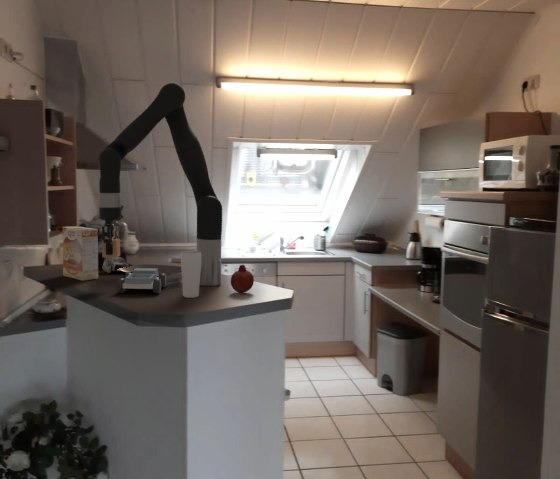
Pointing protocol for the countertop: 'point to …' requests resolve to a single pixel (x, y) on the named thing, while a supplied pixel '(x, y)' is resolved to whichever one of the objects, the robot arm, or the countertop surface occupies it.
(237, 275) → the fruit
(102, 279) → the countertop surface
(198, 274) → the drinking glass
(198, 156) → the robot arm
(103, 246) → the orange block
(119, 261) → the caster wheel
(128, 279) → the chassis
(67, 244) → the coffeecake box
